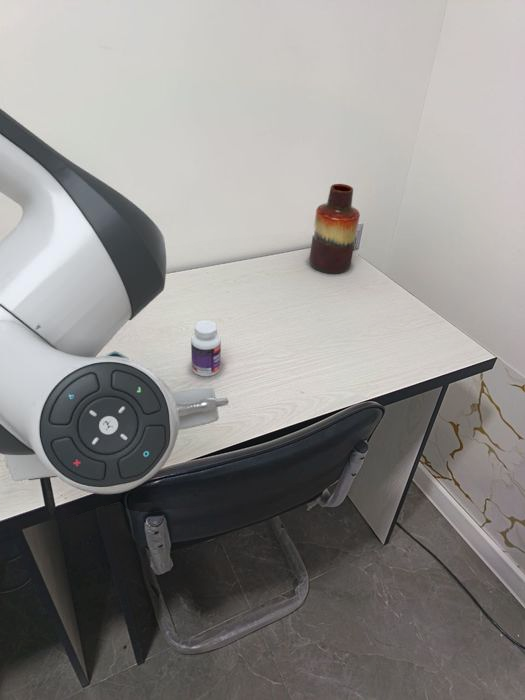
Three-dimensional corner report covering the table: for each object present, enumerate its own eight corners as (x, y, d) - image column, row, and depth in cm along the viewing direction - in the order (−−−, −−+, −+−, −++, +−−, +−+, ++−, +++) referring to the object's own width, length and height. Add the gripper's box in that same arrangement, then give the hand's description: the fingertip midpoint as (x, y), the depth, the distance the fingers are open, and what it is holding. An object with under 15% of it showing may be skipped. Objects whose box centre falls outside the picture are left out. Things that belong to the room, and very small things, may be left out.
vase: (336, 251, 136) (348, 177, 123) (358, 270, 128) (373, 193, 116) (301, 257, 132) (311, 181, 119) (322, 277, 124) (334, 198, 112)
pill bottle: (219, 378, 92) (219, 336, 86) (190, 376, 92) (188, 334, 86) (221, 359, 96) (222, 318, 90) (193, 358, 96) (192, 317, 90)
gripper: (226, 365, 45) (203, 377, 59) (-21, 408, 40) (16, 410, 53) (238, 434, 45) (213, 430, 58) (-10, 487, 39) (24, 469, 52)
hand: (117, 421), depth 55 cm, fingers closed
